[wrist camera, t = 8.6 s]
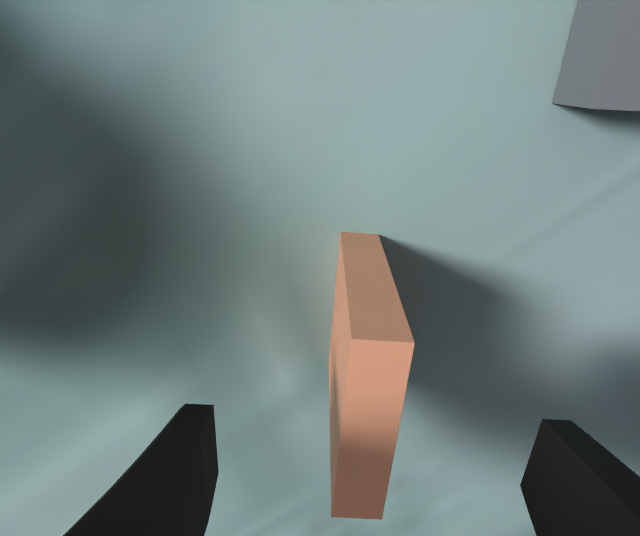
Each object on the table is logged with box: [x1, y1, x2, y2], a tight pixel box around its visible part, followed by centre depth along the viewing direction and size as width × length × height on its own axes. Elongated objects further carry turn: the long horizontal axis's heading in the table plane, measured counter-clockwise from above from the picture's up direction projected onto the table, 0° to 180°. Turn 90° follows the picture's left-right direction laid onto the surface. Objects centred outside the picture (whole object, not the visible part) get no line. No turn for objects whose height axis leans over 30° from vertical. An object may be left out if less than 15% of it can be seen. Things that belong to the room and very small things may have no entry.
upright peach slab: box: [329, 232, 415, 519], centre depth 12 cm, size 1×5×6 cm, turn 176°
